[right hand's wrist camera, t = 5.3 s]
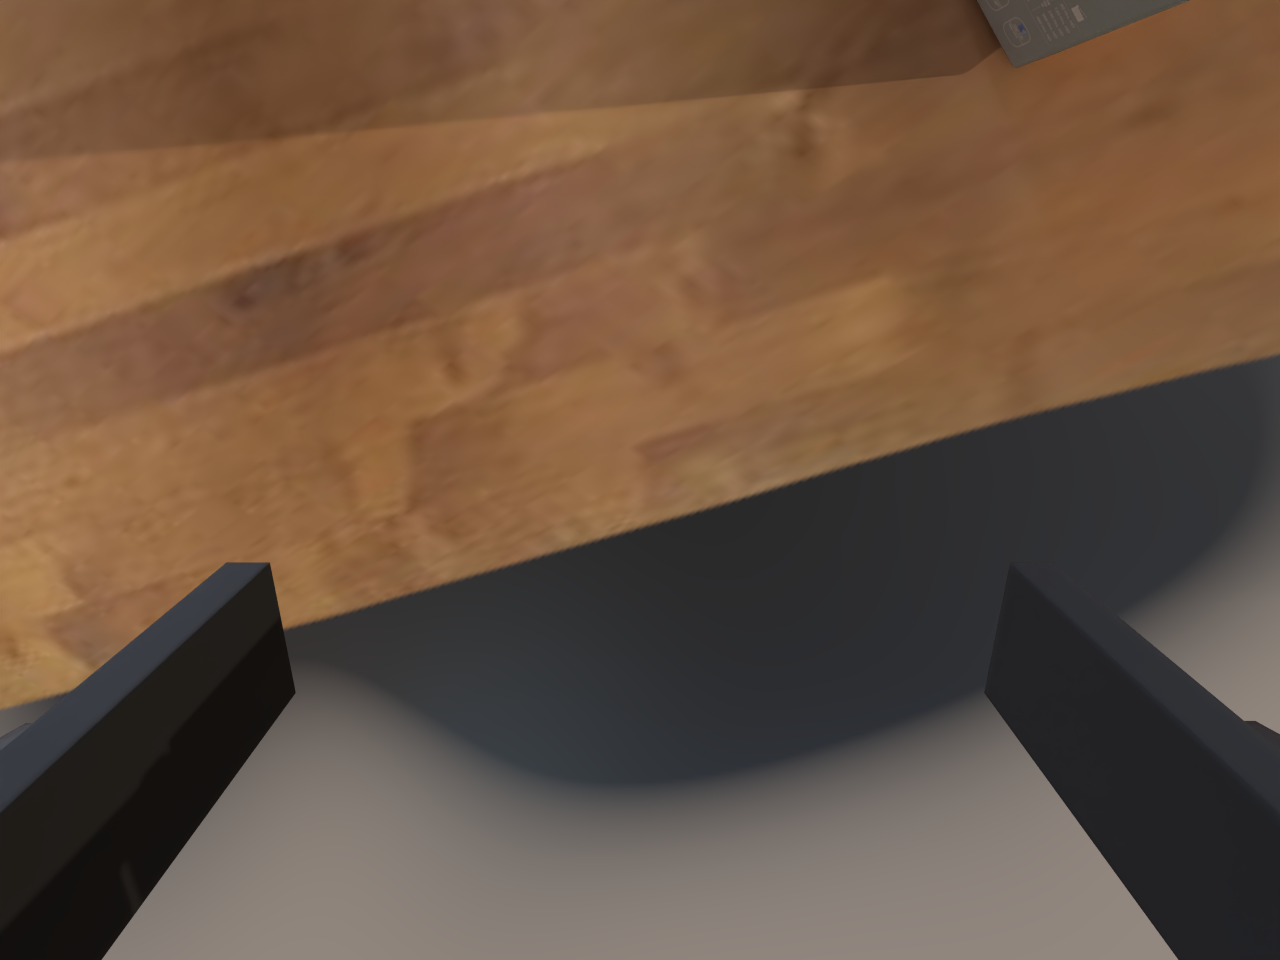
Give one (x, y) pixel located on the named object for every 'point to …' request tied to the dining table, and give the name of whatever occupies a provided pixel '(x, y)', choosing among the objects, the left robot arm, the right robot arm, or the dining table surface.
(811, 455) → the dining table surface
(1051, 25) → the hard drive box
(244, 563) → the right robot arm
